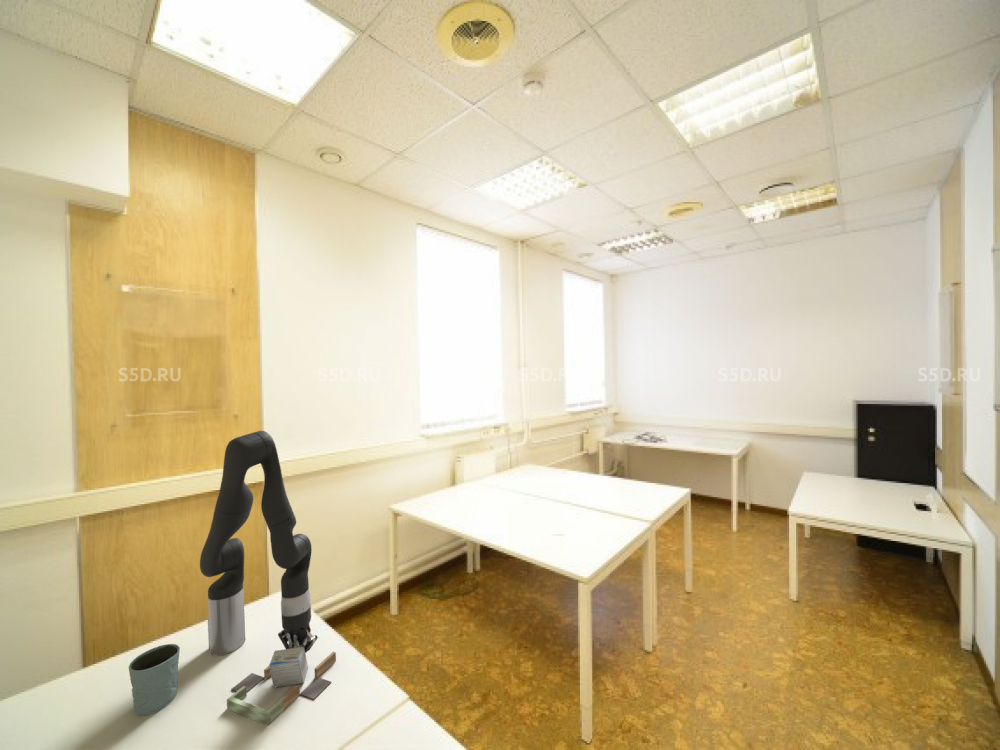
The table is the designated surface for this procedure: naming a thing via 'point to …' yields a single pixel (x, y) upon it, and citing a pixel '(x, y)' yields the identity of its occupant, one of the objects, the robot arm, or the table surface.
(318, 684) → the trap channel
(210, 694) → the table surface
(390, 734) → the table surface
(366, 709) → the table surface
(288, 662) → the medicine box
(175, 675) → the blue-grey vase
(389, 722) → the table surface
